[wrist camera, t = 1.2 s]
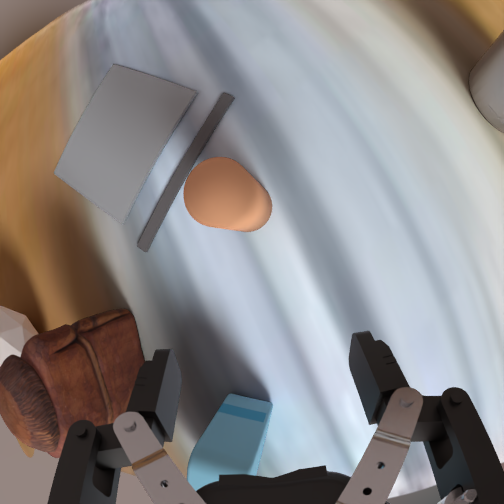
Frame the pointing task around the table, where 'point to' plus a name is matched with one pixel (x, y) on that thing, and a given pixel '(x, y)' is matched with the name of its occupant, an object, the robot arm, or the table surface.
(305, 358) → the table surface
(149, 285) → the table surface
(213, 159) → the throwing cylinder
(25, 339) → the geometric sphere
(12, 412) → the wooden figurine
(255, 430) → the data package
